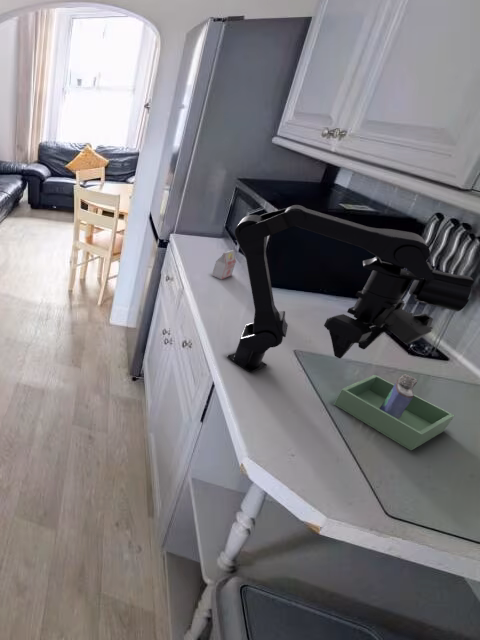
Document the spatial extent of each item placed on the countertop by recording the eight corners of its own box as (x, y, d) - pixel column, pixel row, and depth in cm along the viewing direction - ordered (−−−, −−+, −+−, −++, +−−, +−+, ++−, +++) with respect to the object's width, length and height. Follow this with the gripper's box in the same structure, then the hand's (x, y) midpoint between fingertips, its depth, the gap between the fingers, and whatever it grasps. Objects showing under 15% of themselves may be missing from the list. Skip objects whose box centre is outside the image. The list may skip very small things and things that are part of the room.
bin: (410, 450, 78) (421, 434, 76) (333, 404, 89) (341, 389, 87) (443, 431, 83) (455, 415, 81) (366, 389, 94) (375, 374, 92)
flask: (393, 430, 82) (418, 391, 78) (374, 421, 84) (397, 382, 80) (399, 409, 87) (422, 371, 83) (380, 401, 89) (402, 364, 85)
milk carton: (211, 275, 149) (218, 251, 144) (221, 271, 152) (229, 247, 148) (221, 279, 146) (229, 254, 142) (231, 275, 149) (239, 251, 145)
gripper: (410, 321, 71) (370, 387, 78) (459, 303, 78) (419, 365, 84) (338, 292, 81) (308, 353, 87) (388, 278, 87) (357, 336, 94)
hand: (349, 352), depth 88 cm, fingers open, 9 cm apart
